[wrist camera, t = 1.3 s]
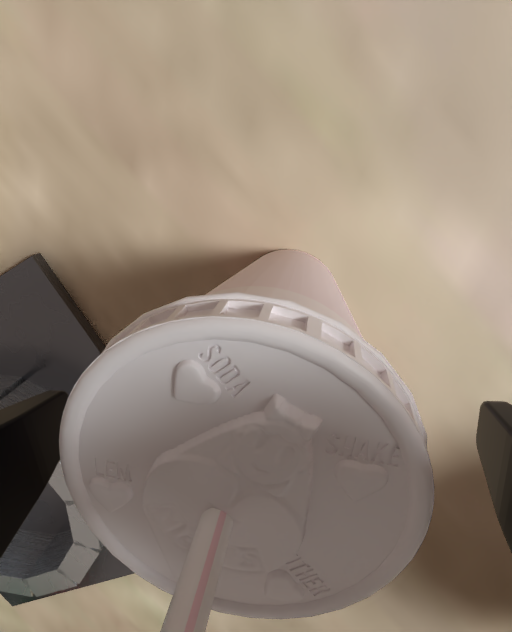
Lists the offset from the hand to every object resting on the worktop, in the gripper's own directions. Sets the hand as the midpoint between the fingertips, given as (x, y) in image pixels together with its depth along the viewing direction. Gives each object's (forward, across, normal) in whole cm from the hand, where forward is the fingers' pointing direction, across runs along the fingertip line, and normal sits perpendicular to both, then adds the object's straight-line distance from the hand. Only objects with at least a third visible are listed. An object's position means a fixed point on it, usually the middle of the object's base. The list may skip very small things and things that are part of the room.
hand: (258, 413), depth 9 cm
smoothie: (+8, 0, 0) cm, 8 cm away
